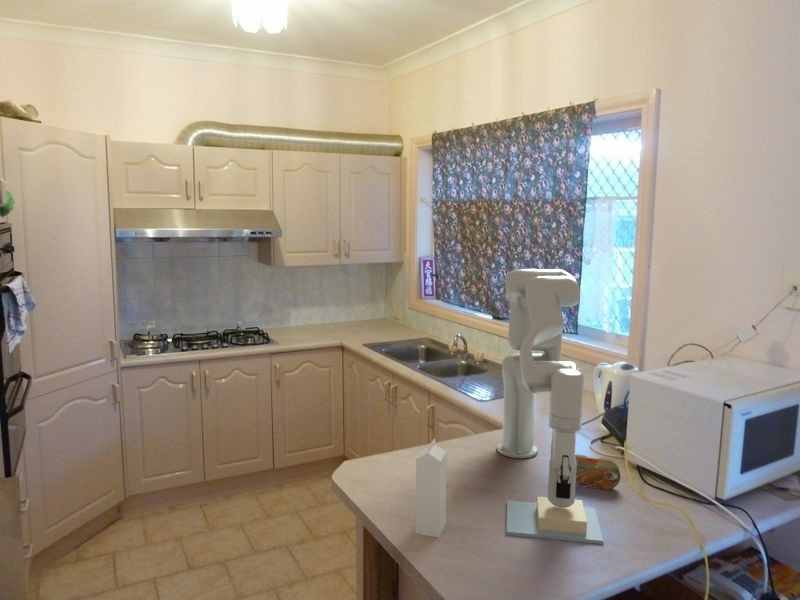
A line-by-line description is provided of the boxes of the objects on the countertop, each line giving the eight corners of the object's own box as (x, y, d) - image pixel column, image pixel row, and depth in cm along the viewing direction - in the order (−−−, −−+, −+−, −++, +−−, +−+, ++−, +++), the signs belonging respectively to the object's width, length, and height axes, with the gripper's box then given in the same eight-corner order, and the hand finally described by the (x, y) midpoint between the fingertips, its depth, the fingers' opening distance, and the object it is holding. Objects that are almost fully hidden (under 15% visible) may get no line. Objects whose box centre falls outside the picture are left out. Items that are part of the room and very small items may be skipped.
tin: (562, 483, 174) (563, 455, 173) (563, 479, 177) (565, 451, 176) (619, 492, 169) (621, 463, 167) (619, 487, 172) (621, 458, 170)
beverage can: (554, 494, 156) (556, 448, 154) (578, 501, 152) (581, 455, 150) (543, 503, 151) (545, 456, 149) (567, 511, 147) (570, 464, 145)
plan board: (507, 503, 162) (507, 489, 162) (594, 510, 158) (594, 496, 158) (506, 534, 147) (507, 519, 146) (603, 544, 143) (604, 528, 142)
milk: (415, 534, 147) (415, 445, 143) (422, 521, 152) (422, 436, 149) (440, 538, 145) (440, 448, 142) (446, 525, 151) (447, 439, 147)
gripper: (547, 408, 157) (544, 474, 160) (551, 432, 140) (547, 506, 143) (577, 409, 156) (574, 477, 159) (585, 435, 139) (581, 509, 142)
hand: (561, 490), depth 151 cm, fingers closed on beverage can, 6 cm apart
